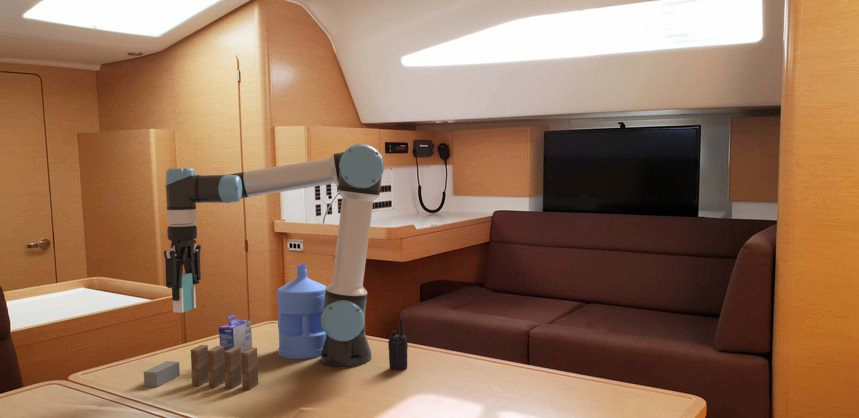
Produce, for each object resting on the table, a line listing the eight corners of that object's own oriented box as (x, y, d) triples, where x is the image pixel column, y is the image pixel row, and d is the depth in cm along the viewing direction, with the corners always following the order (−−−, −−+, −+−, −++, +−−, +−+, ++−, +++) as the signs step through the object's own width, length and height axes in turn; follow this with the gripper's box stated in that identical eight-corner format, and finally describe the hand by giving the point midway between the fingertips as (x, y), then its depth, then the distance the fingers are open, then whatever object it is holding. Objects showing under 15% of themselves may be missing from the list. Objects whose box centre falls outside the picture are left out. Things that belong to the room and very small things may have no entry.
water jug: (276, 349, 213) (274, 263, 211) (325, 344, 217) (323, 260, 215) (281, 363, 198) (277, 270, 196) (333, 357, 202) (330, 267, 201)
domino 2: (225, 381, 181) (224, 346, 181) (215, 387, 176) (213, 351, 176) (218, 381, 182) (217, 345, 181) (208, 387, 177) (207, 350, 176)
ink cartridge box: (238, 357, 204) (236, 311, 203) (253, 359, 203) (252, 312, 202) (219, 367, 195) (217, 319, 194) (235, 368, 193) (234, 319, 192)
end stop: (179, 375, 188) (179, 361, 187) (157, 387, 178) (156, 372, 178) (167, 374, 188) (166, 361, 188) (144, 386, 179) (143, 371, 179)
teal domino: (193, 308, 182) (192, 273, 182) (182, 312, 178) (181, 275, 177) (187, 308, 183) (185, 272, 182) (176, 312, 178) (174, 275, 177)
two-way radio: (408, 368, 191) (407, 316, 190) (406, 372, 186) (405, 320, 185) (389, 367, 191) (388, 316, 190) (387, 372, 187) (386, 320, 186)
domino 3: (241, 382, 180) (240, 346, 179) (232, 389, 175) (230, 352, 175) (235, 382, 181) (233, 346, 180) (225, 388, 176) (224, 351, 175)
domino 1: (209, 380, 182) (207, 345, 182) (198, 386, 178) (197, 350, 177) (202, 380, 183) (201, 344, 182) (192, 386, 178) (190, 349, 177)
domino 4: (258, 384, 179) (257, 347, 178) (249, 390, 174) (247, 352, 173) (251, 383, 179) (250, 347, 179) (242, 389, 174) (240, 352, 174)
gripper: (189, 222, 188) (191, 302, 190) (148, 227, 171) (151, 316, 172) (212, 222, 187) (215, 303, 188) (173, 228, 169) (176, 317, 171)
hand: (184, 309), depth 180 cm, fingers closed on teal domino, 5 cm apart
